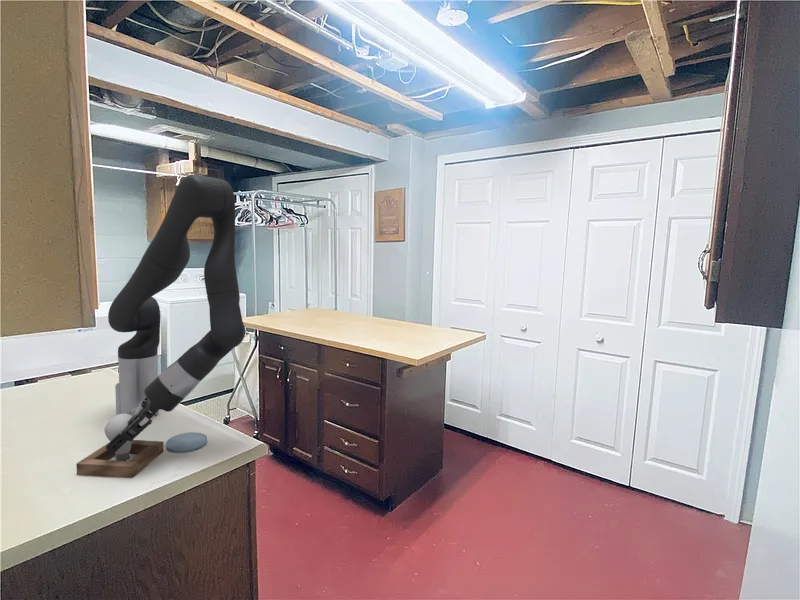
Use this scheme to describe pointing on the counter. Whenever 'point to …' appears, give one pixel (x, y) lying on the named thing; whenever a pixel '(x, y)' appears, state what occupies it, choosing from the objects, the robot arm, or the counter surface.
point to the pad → (186, 442)
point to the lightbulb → (114, 429)
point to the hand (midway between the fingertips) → (112, 443)
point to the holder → (126, 469)
